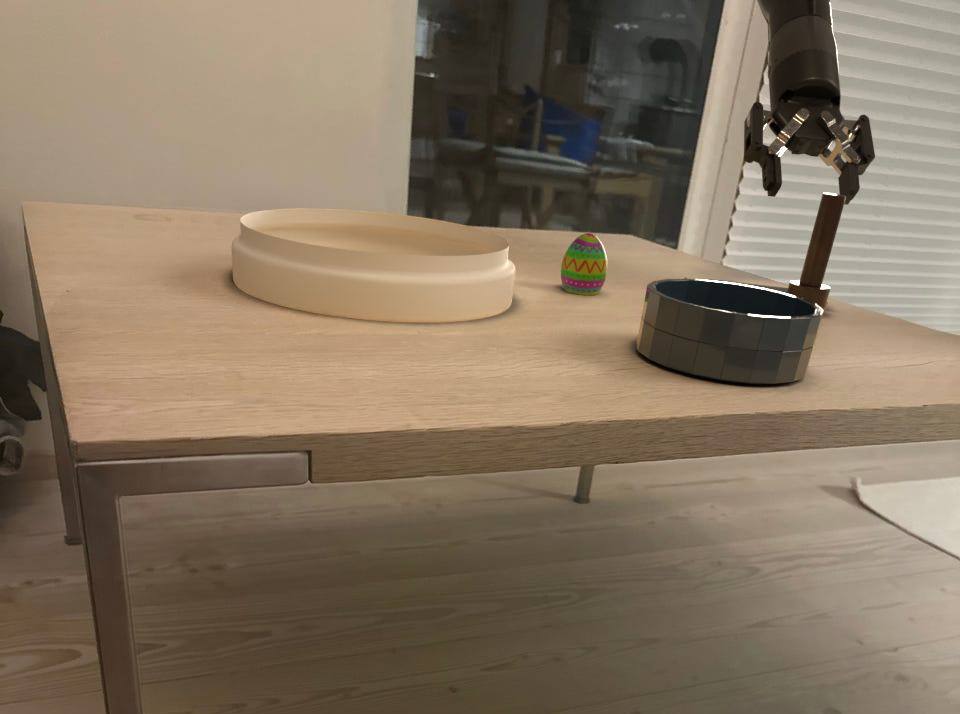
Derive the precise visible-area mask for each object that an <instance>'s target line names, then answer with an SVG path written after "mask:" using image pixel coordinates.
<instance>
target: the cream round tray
mask: <svg viewBox="0 0 960 714" xmlns="http://www.w3.org/2000/svg"><path fill="white" fill-rule="evenodd" d="M239 219H240V220H239V221H240V234H239V235H236V237H235V238H234V239H233V240H232V242H231V265H232V266H231V267H232V269H231V270H232V280H233V283H234V285H235V286H236V288H238V289H239V290H240V291H242V292H243V293H245V294H247V295H249V296H250V297H253V298H256V299H258V300H261V301H263V302H266V303H270V304H273V305H277V306H279V307H285V308H288V309H292V310H297V311H302V312H306V313H312V314H318V315H322V316H323V315H324V316H330V317H336V318H344V319H345V318H346V319H353V320H363V321H373V322H387V323H388V322H389V323H411V324H415V323H418V324H419V323H420V324H421V323H422V324H423V323H424V324H427V323H428V324H429V323H435V324H436V323H457V322H466V321H467V322H468V321H475V320H481V319H486V318H491V317H494V316H497V315H499V314H502V313H504V312H505V311H507V310H509V308H510V307H511V306H512V303H513V296H514V287H515V286H514V285H515V278H516V277H515V276H516V266H515V264H514V263H513V262H512V261H511V260H510V259H509V249H510V242H509V241H508V240H507V239H506V238H504V237H502V236H501V235H498V234H496V233H494V232H491V231H487V230H484V229H481V228H478V227H473V226H470V225H465V224H460V223H456V222H451V221H446V220H440V219H435V218H428V217H422V216H415V215H407V214H399V213H390V212H382V211H372V210H361V209H360V210H358V209H344V208H343V209H342V208H320V207H319V208H318V207H317V208H316V207H315V208H314V207H313V208H312V207H311V208H310V207H308V208H307V207H305V208H303V207H302V208H300V207H297V208H293V207H292V208H276V209H275V208H274V209H264V210H258V211H252V212H249V213H246V214H244V215H243V216H241V217H240V218H239Z"/></svg>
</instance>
